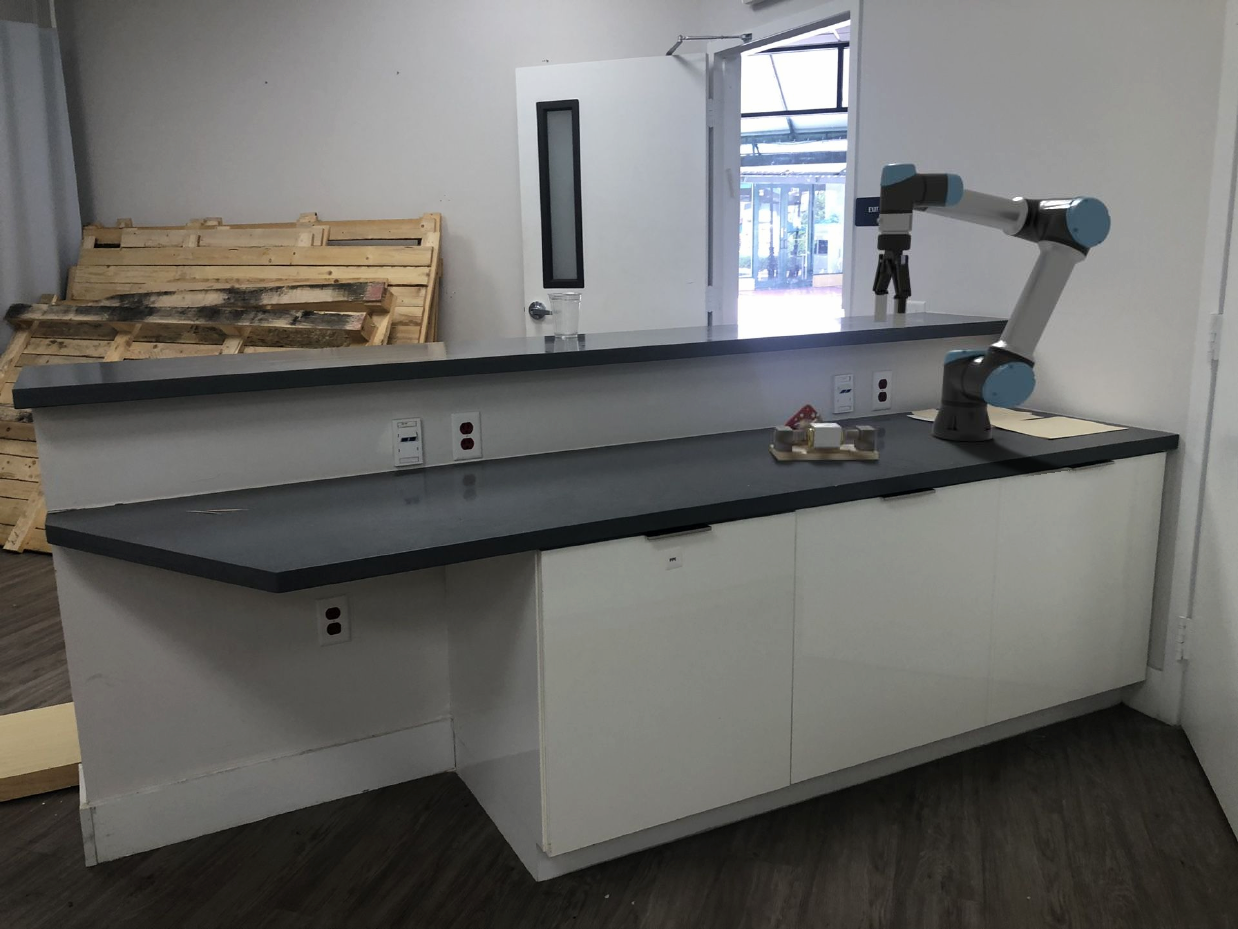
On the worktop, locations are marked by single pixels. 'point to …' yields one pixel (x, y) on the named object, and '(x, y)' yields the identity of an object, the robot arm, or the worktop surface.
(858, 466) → the worktop surface
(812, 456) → the shaft bench
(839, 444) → the coupler
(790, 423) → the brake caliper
